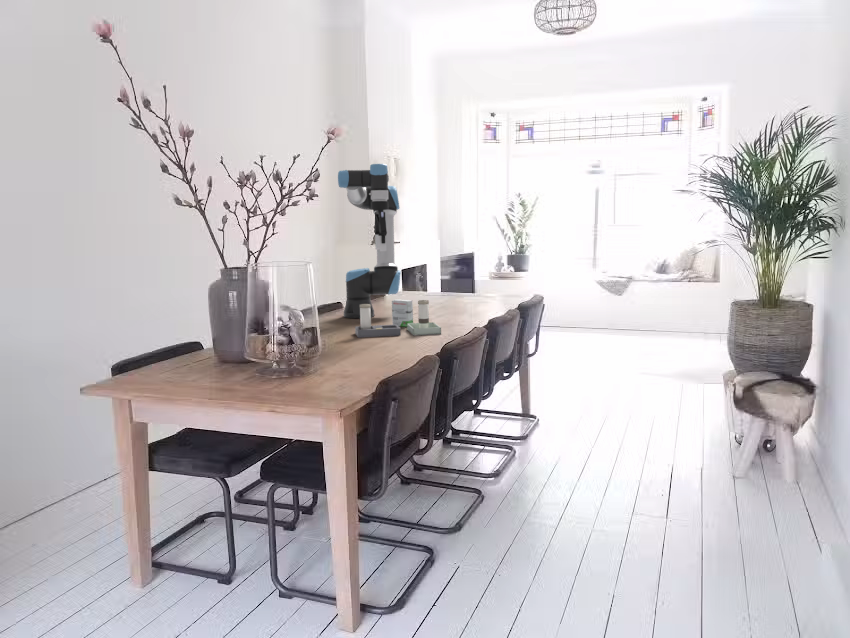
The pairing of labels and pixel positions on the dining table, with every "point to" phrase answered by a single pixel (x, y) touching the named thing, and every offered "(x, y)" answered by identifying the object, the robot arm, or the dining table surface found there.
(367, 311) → the fuse
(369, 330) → the board
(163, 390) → the dining table surface
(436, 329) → the parts tray
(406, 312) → the ink box
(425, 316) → the fuse
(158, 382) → the dining table surface
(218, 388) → the dining table surface
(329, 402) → the dining table surface
